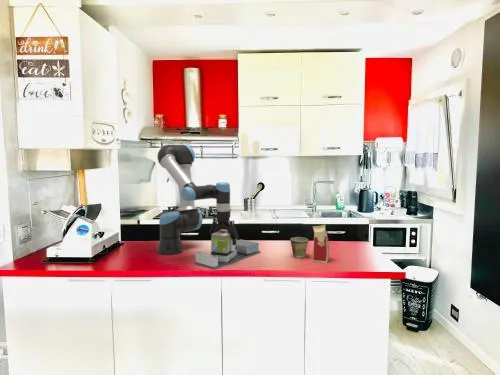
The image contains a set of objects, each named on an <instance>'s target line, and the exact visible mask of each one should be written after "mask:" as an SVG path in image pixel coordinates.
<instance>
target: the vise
mask: <svg viewBox="0 0 500 375" xmlns="http://www.w3.org/2000/svg"><path fill="white" fill-rule="evenodd" d="M257 254H261V250H258V251H256V252H253V253H250V254H243V253H239V252H237V255H236V256H235V257H233V258H232V259H231V260H229V261H228V262H218V256H214V255H211V253H210V254H209V253H205V252H201V251H197V252H195V262H194V264H195V265H199V266H203V267H207V268H210V269H213V270H217V269H219V268H222V267H225V266H228V265H231V264H233V262H234V263H236V262H238V261H239V262H240V261H241V259H242V260H244V259H247V258H250V257H252V255H253V256H255V255H257ZM249 256H250V257H249Z"/></svg>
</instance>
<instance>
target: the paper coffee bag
mask: <svg viewBox="0 0 500 375" xmlns="http://www.w3.org/2000/svg"><path fill="white" fill-rule="evenodd" d="M326 226H327V225H326V224H321V225H317V226H316V225H314V226H312V229H313V233H314V234H313V235H314V236H313V246H312V255H311V260H312V262H316V263H324V264H327V263H328V261H330V245H329V237H328V234H327V229H326Z"/></svg>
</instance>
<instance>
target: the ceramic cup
mask: <svg viewBox="0 0 500 375" xmlns="http://www.w3.org/2000/svg"><path fill="white" fill-rule="evenodd" d="M308 243H309V239H308V238H306V237H301V236H296V237H291V238H290V246H291V252H292V257H293V258H296V259H303V258H305V257H306V253H307V247H308Z"/></svg>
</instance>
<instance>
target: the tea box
mask: <svg viewBox="0 0 500 375" xmlns="http://www.w3.org/2000/svg"><path fill="white" fill-rule="evenodd" d="M210 235H211V237H210V255H214V256H218V262H228V261H229V260H231V259H232V258H233V257H235V256H236V255H237V240H238V238H237V239H236V245H235V251H231V239H232V238H231V236H230V234H229V233H228V231H227V229H225V228H220V229H219V230H218V231H217V232H215V233H213V234H210Z"/></svg>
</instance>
